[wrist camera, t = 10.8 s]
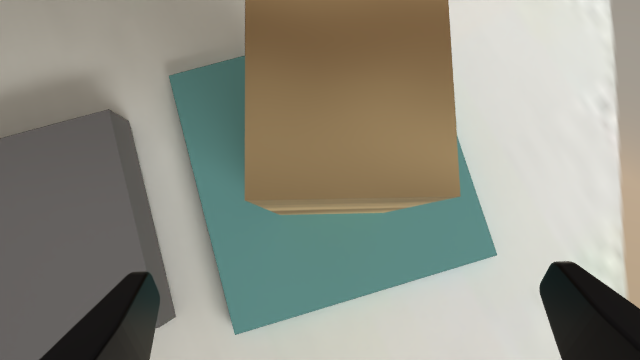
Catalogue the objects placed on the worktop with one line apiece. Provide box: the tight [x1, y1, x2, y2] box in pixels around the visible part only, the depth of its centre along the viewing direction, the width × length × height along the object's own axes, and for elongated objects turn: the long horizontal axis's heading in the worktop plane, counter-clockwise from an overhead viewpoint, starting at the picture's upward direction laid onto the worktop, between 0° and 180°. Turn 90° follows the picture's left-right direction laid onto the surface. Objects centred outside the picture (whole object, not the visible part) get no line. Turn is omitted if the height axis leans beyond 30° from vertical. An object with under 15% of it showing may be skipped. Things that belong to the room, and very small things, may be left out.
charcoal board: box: [0, 109, 176, 360], centre depth 18 cm, size 10×10×2 cm
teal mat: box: [169, 56, 497, 335], centre depth 20 cm, size 13×13×1 cm
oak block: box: [245, 0, 461, 215], centre depth 14 cm, size 5×5×10 cm
